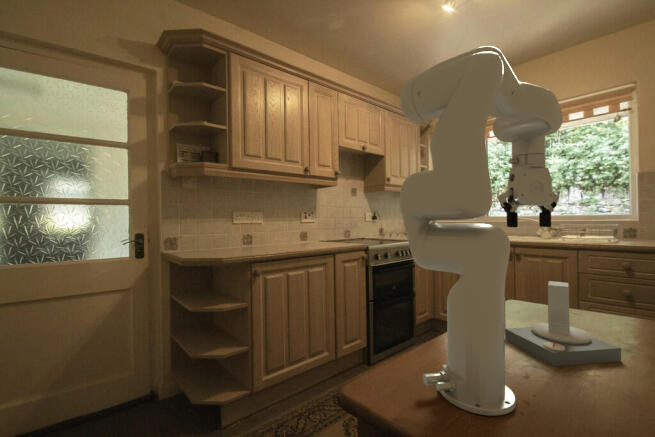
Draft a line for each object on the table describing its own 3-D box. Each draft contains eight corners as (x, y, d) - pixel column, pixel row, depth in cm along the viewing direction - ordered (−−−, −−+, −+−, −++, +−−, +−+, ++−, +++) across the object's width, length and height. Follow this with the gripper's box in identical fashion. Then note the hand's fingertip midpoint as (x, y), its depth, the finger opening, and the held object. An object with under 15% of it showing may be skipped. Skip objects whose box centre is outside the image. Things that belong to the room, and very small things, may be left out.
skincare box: (548, 325, 80) (548, 280, 80) (569, 329, 78) (569, 282, 78) (547, 332, 75) (547, 284, 76) (569, 336, 73) (569, 286, 73)
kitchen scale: (554, 366, 66) (553, 348, 66) (505, 339, 81) (505, 324, 81) (621, 361, 69) (620, 343, 69) (561, 336, 84) (561, 321, 84)
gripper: (508, 160, 77) (509, 227, 77) (569, 161, 79) (570, 227, 79) (489, 165, 84) (489, 227, 84) (545, 166, 86) (546, 226, 86)
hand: (528, 227), depth 82 cm, fingers open, 9 cm apart
